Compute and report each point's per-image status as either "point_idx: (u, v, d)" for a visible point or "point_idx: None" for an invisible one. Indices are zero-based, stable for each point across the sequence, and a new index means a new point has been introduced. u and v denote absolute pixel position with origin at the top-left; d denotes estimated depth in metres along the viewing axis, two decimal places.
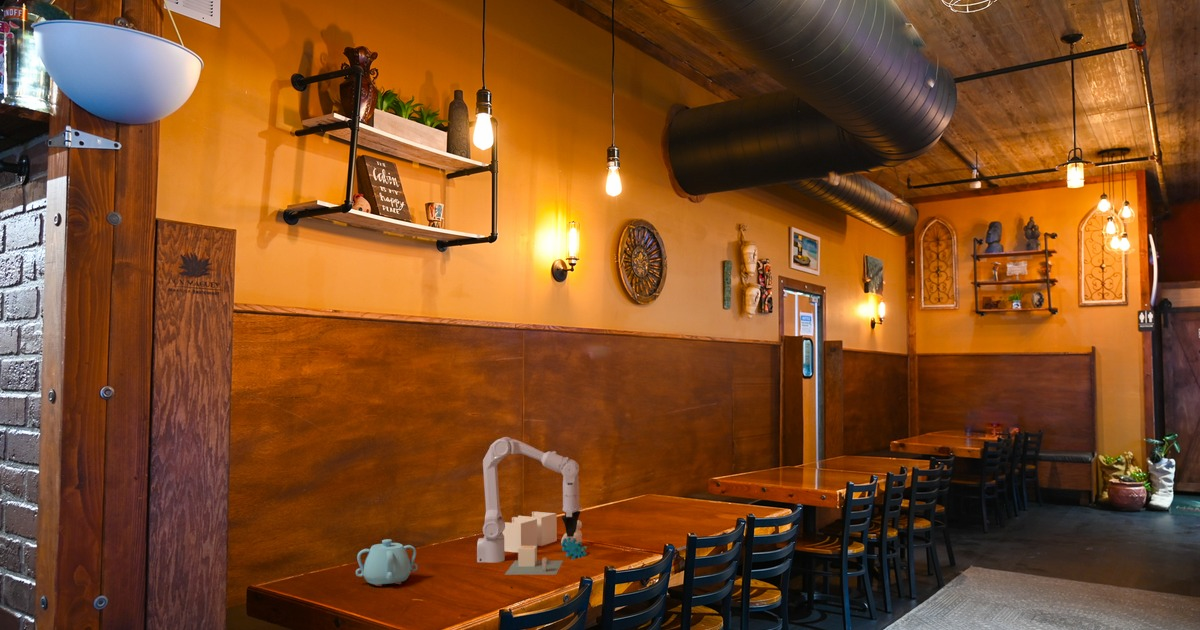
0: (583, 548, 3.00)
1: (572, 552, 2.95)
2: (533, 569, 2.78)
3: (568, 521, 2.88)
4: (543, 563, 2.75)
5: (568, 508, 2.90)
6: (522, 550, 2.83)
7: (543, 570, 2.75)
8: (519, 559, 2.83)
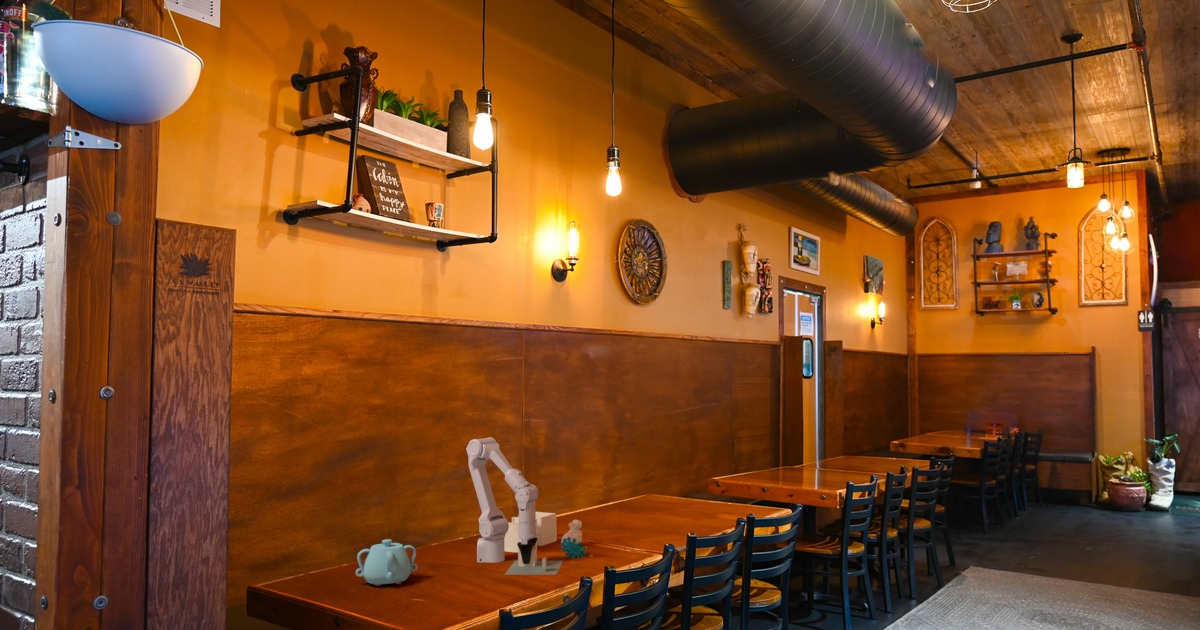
0: (583, 548, 3.00)
1: (571, 552, 2.95)
2: (533, 569, 2.78)
3: (524, 548, 2.83)
4: (543, 563, 2.75)
5: (524, 535, 2.84)
6: None
7: (543, 570, 2.75)
8: (519, 559, 2.83)
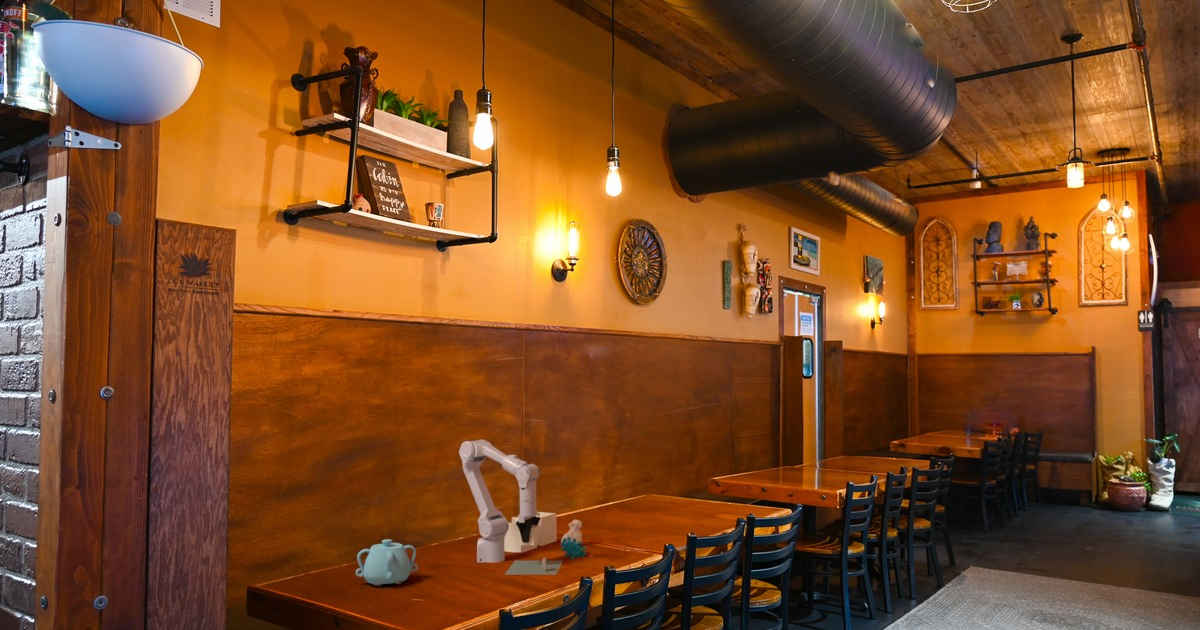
0: (583, 548, 3.00)
1: (571, 552, 2.95)
2: (533, 569, 2.78)
3: (523, 526, 2.83)
4: (543, 563, 2.75)
5: (523, 513, 2.84)
6: None
7: (543, 570, 2.75)
8: (519, 538, 2.84)
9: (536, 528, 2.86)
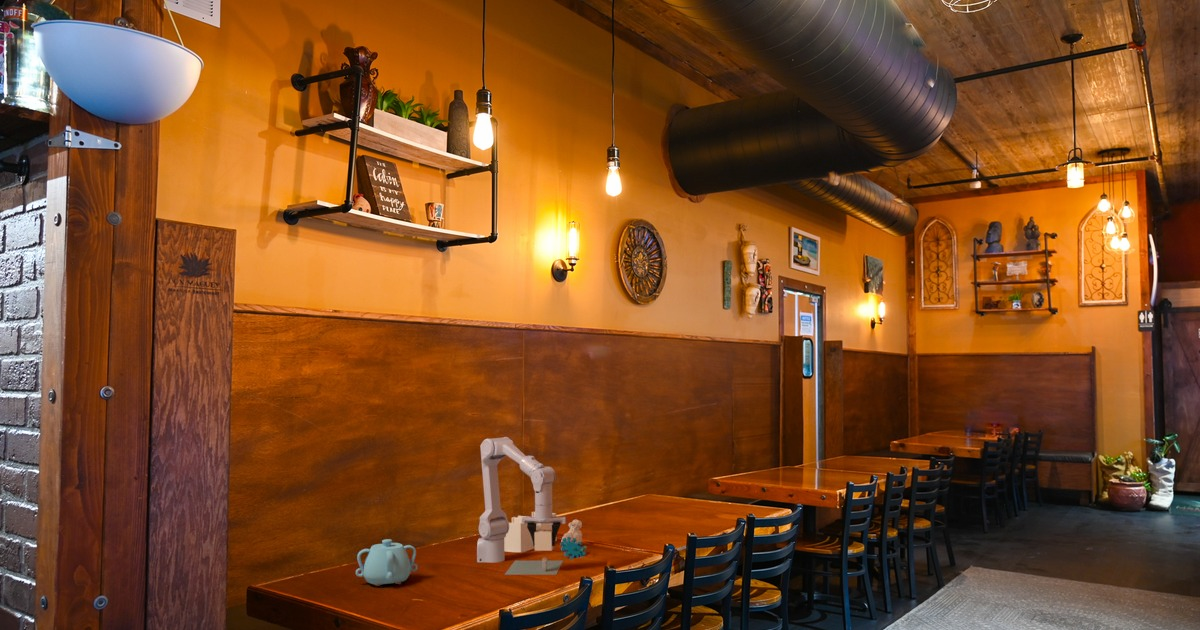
0: (583, 548, 3.00)
1: (571, 552, 2.96)
2: (533, 569, 2.78)
3: None
4: (543, 563, 2.75)
5: None
6: (536, 531, 2.79)
7: (543, 570, 2.75)
8: None
9: (543, 534, 2.74)
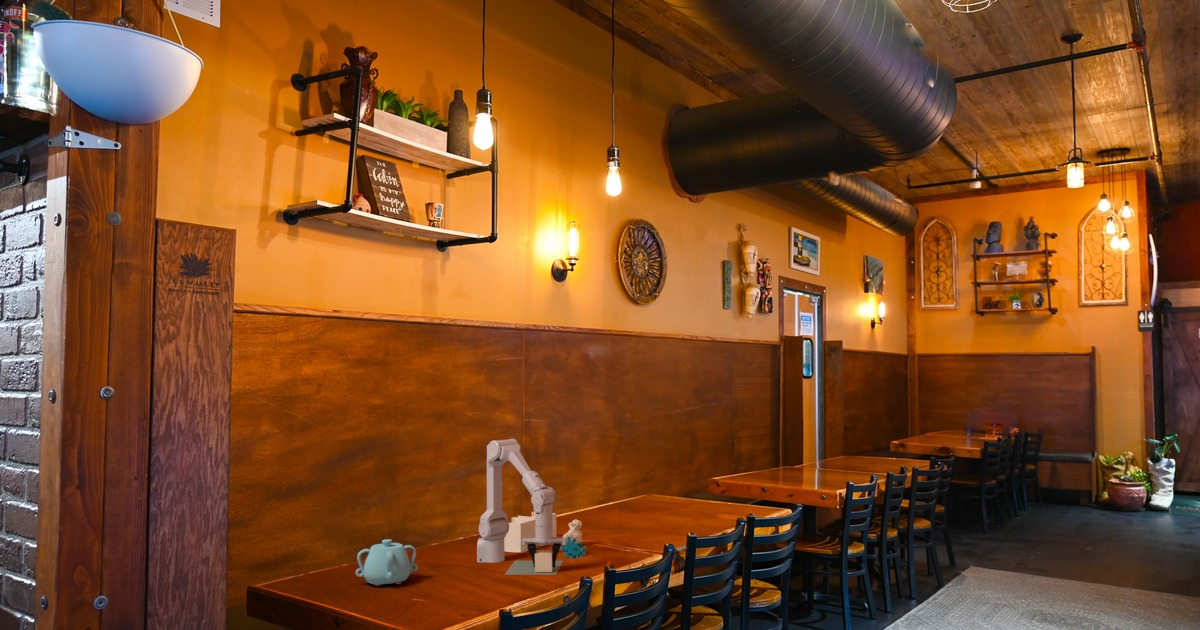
0: (583, 548, 3.00)
1: (570, 552, 2.96)
2: (533, 569, 2.78)
3: None
4: None
5: None
6: None
7: None
8: None
9: (543, 556, 2.74)
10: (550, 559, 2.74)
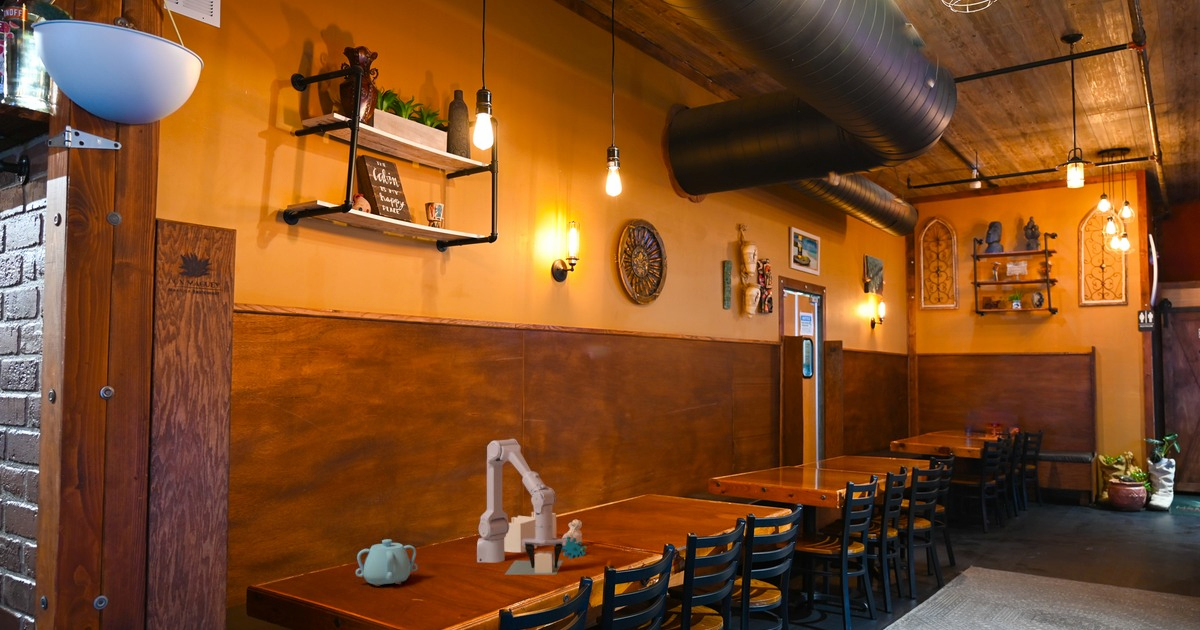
0: (582, 548, 3.00)
1: (570, 551, 2.96)
2: (533, 569, 2.78)
3: None
4: None
5: None
6: None
7: None
8: None
9: (543, 556, 2.74)
10: (550, 560, 2.74)
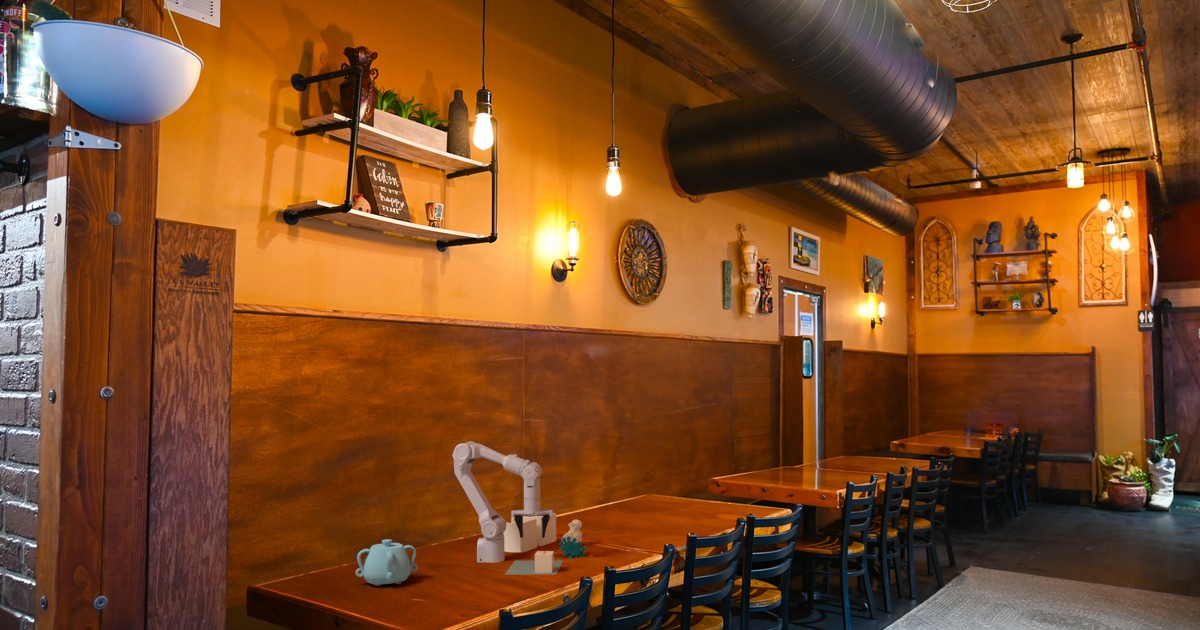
0: (582, 548, 3.00)
1: (569, 551, 2.96)
2: (533, 569, 2.78)
3: None
4: None
5: None
6: None
7: None
8: None
9: (543, 556, 2.74)
10: (550, 560, 2.74)
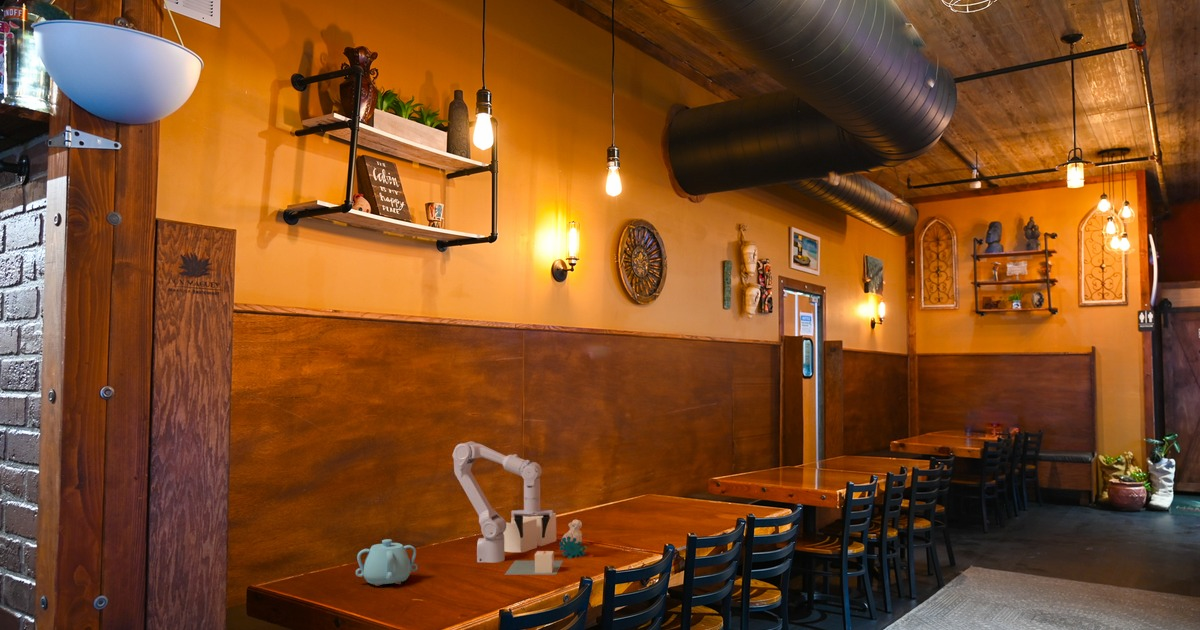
0: (582, 548, 3.01)
1: (569, 551, 2.96)
2: (533, 569, 2.78)
3: None
4: None
5: None
6: None
7: None
8: None
9: (543, 556, 2.74)
10: (550, 560, 2.74)
